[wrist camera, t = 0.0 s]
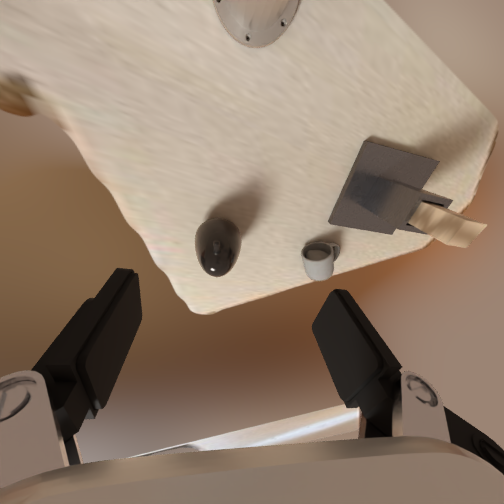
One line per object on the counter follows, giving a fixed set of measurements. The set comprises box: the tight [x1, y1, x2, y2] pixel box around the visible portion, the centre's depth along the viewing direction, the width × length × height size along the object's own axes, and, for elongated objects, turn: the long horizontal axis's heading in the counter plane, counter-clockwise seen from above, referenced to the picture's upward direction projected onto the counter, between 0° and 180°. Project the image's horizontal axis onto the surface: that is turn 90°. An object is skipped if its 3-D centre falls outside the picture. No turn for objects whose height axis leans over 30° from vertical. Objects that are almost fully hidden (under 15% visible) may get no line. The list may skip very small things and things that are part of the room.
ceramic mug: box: [301, 242, 340, 281], centre depth 52 cm, size 11×8×8 cm
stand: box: [328, 141, 453, 235], centre depth 42 cm, size 18×18×14 cm
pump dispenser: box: [195, 218, 242, 277], centre depth 42 cm, size 10×10×15 cm
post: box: [408, 200, 487, 248], centre depth 38 cm, size 4×4×19 cm
